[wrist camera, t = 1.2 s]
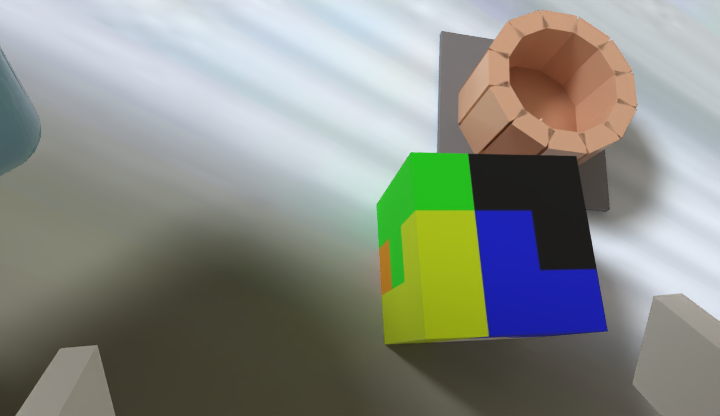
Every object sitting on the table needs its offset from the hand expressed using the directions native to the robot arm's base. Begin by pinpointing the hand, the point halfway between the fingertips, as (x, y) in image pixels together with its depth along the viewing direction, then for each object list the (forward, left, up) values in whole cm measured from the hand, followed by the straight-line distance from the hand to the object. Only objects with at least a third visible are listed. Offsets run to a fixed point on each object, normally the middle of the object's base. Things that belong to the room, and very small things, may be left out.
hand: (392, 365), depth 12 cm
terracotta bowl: (+15, +20, -22) cm, 33 cm away
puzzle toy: (+9, +7, -23) cm, 25 cm away
